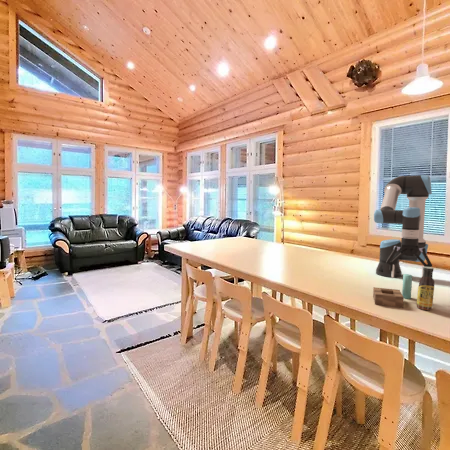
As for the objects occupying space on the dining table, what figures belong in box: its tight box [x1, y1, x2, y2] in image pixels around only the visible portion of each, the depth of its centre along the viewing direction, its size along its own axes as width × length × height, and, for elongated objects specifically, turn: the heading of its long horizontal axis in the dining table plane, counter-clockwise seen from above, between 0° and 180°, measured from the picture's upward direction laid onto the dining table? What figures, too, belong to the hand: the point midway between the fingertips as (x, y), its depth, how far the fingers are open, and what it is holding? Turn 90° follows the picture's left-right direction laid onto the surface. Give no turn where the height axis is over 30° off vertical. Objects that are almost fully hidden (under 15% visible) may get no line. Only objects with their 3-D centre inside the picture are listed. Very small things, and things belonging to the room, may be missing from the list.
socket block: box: [372, 287, 405, 308], centre depth 153 cm, size 12×12×5 cm
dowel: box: [401, 273, 413, 300], centre depth 158 cm, size 4×4×12 cm
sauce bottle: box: [416, 266, 435, 311], centre depth 143 cm, size 7×6×20 cm
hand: (407, 278), depth 157 cm, fingers open, 13 cm apart
